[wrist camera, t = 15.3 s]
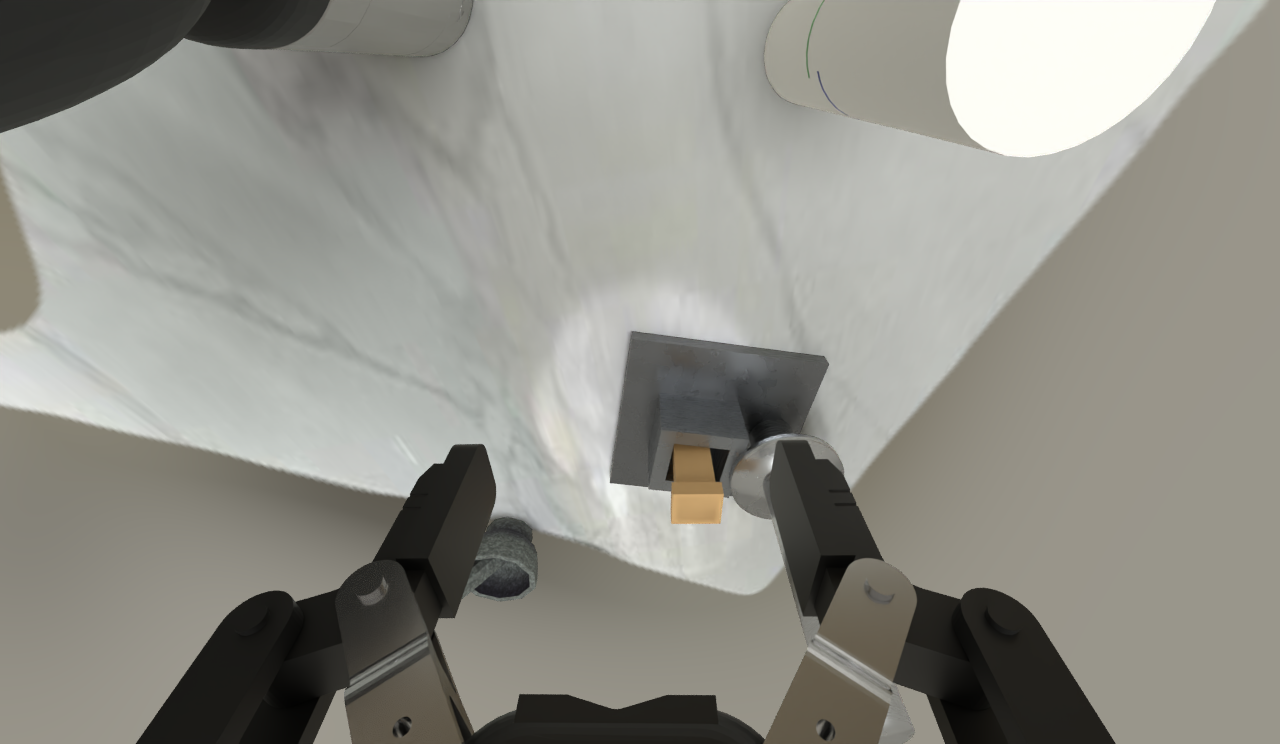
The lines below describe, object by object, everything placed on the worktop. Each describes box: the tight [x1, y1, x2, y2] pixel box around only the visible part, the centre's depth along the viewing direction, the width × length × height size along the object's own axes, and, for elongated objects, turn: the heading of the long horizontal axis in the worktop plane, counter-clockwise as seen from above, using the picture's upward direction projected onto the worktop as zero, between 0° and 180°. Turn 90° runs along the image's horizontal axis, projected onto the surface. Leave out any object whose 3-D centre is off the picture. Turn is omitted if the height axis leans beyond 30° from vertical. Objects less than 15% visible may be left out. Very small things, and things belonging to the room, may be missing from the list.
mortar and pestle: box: [462, 517, 538, 601], centre depth 59 cm, size 11×9×12 cm
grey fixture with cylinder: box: [610, 332, 915, 744], centre depth 41 cm, size 22×20×30 cm
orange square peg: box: [671, 444, 724, 524], centre depth 46 cm, size 4×4×12 cm
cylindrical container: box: [764, 0, 1216, 157], centre depth 24 cm, size 7×7×25 cm
